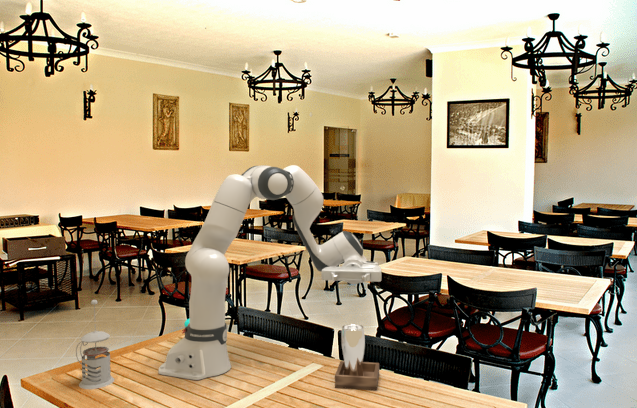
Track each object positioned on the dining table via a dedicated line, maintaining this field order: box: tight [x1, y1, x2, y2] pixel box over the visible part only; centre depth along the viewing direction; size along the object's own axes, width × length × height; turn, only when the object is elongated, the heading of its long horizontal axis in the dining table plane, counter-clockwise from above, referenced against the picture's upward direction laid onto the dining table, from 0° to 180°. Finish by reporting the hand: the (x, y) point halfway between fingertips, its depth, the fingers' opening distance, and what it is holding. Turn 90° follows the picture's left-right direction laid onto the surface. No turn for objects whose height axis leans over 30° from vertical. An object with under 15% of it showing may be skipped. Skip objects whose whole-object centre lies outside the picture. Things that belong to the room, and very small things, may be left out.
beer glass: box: [340, 323, 366, 376], centre depth 148 cm, size 7×7×15 cm
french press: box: [75, 299, 115, 390], centre depth 149 cm, size 10×12×25 cm
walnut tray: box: [334, 360, 380, 392], centre depth 148 cm, size 12×12×4 cm
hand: (349, 278), depth 160 cm, fingers open, 8 cm apart
